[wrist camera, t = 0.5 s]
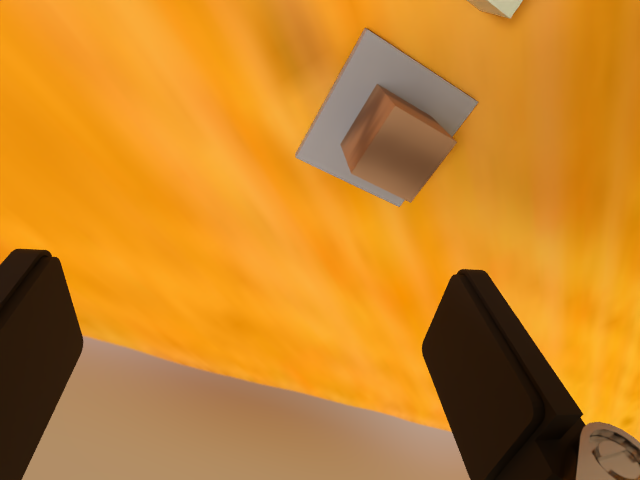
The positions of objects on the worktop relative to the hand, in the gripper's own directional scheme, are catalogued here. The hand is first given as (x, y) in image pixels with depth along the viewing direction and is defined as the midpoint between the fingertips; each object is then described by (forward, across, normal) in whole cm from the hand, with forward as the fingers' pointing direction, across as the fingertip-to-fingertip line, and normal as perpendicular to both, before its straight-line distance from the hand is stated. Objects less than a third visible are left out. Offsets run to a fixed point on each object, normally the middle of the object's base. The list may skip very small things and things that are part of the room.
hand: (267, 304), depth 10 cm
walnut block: (+27, -11, +4) cm, 29 cm away
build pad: (+28, -11, +4) cm, 30 cm away
